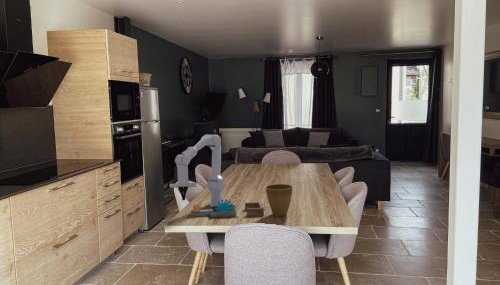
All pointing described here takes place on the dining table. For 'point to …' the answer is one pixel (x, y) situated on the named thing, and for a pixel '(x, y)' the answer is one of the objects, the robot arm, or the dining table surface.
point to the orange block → (197, 209)
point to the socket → (216, 213)
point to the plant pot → (279, 198)
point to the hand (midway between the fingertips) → (183, 199)
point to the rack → (254, 209)
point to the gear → (225, 206)
